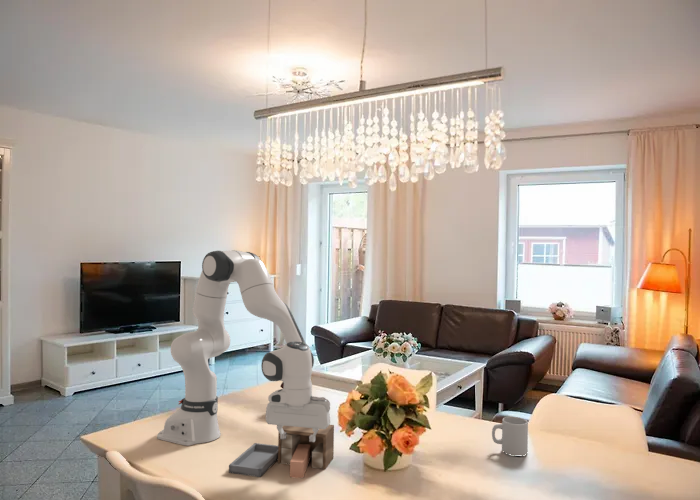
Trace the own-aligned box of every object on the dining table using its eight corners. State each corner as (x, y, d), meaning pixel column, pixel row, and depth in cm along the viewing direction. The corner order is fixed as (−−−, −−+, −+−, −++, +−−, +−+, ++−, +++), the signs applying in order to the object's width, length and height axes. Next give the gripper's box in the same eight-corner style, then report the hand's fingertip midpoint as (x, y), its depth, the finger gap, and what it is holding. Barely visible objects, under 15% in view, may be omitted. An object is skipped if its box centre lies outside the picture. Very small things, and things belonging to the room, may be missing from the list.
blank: (289, 478, 156) (290, 461, 156) (298, 459, 169) (298, 443, 169) (303, 478, 155) (303, 462, 155) (310, 459, 169) (310, 444, 169)
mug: (524, 448, 181) (524, 417, 181) (530, 457, 173) (530, 425, 173) (489, 446, 183) (490, 415, 182) (493, 455, 174) (494, 423, 174)
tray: (228, 472, 158) (228, 465, 158) (254, 449, 176) (254, 442, 176) (260, 477, 155) (260, 469, 155) (283, 453, 173) (283, 446, 173)
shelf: (278, 463, 165) (278, 429, 165) (288, 452, 174) (288, 420, 174) (325, 469, 161) (325, 434, 161) (333, 458, 170) (333, 425, 170)
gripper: (332, 394, 159) (332, 439, 159) (271, 390, 164) (271, 433, 164) (327, 400, 153) (327, 447, 153) (263, 396, 158) (263, 440, 158)
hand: (297, 440), depth 158 cm, fingers open, 8 cm apart
